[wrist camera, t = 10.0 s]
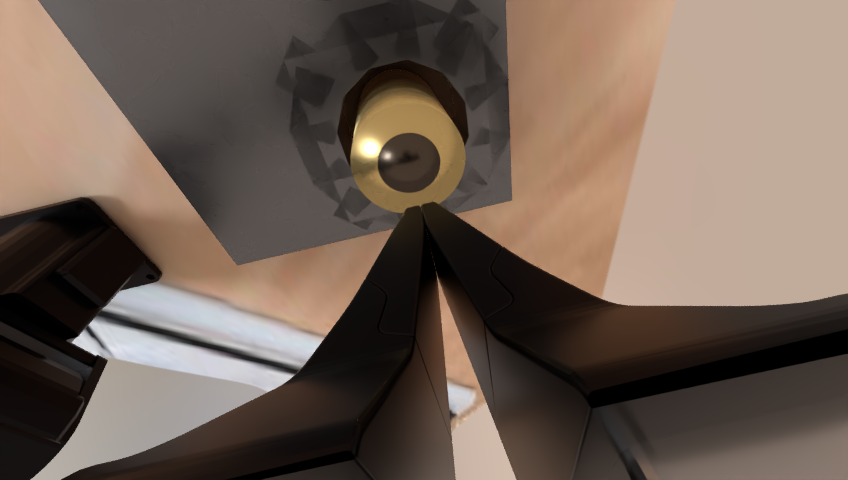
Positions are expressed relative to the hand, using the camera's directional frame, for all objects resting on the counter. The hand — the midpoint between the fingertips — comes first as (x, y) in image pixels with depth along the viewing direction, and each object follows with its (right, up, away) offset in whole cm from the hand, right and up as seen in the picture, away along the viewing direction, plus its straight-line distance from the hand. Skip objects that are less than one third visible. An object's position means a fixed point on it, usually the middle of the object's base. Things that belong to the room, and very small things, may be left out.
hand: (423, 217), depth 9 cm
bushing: (-1, +6, +9) cm, 11 cm away
